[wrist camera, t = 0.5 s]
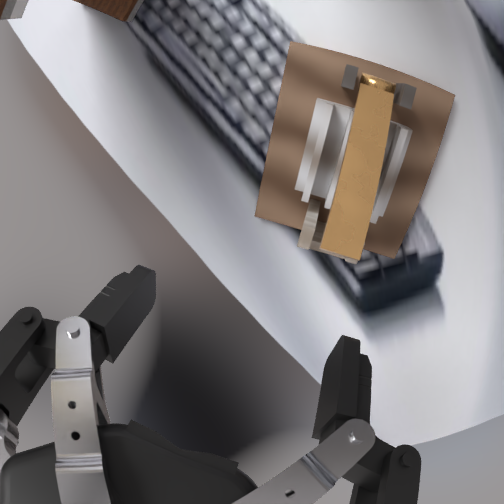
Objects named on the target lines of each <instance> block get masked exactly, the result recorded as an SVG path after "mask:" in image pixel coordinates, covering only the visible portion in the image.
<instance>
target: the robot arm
mask: <svg viewBox="0 0 504 504" xmlns="http://www.w3.org/2000/svg"><path fill="white" fill-rule="evenodd" d="M155 299H156V273H155V271H154V270H151V269H149V268H146V267H144V266H141V265H138V266H136V267H135V268H134V269H133V270H132V271H131V272H130V273H129V274H128V273H126V272H123V273H121V274H119V275H117V276H115V277H114V278H113V279H112V280H111V281H110V282H109V283H108V284H107V286H106V287H104V289H103V290H102V291H101V293H99V294H98V295H97V296H96V297H95V298H94V300H92V302H91V303H90V304H89V305H88V306H87V307H86V308H85V310H84V311H83V312H82V313H81V314H80V315H79V316H78V317H77V316H72V317H68V318H65V319H64V320H62V321H61V322H59V321H53V320H49V319H44V318H42V315H41V313H40V311H39V310H38V309H36V308H34V307H25V308H22V309H20V310H19V311H18V312H17V313H16V314H15V315H14V316H13V317H12V318H11V319H10V321H9V322H8V323H7V324H6V325H5V326H4V328H3V329H2V330H1V331H0V504H313V503H315V502H316V501H317V500H318V499H319V498H321V497H322V496H323V495H324V494H326V493H327V492H328V491H329V490H330V489H331V488H332V487H333V486H334V485H335V482H336V481H337V480H338V479H340V478H341V477H343V478H344V479H347V480H348V481H350V482H352V483H354V486H353V491H352V495H351V499H350V504H417V500H418V492H419V482H420V471H421V457H420V455H419V452H418V451H417V450H416V449H415V448H414V447H412V446H410V445H400V446H398V447H396V448H395V447H393V446H391V445H389V444H387V443H386V442H384V441H382V440H380V439H379V438H378V437H377V436H376V435H375V432H374V430H373V428H372V426H371V425H370V405H371V378H372V366H371V364H370V361H369V358H368V356H367V355H363V354H360V340H358V339H354V338H351V337H348V336H344V335H342V336H341V337H340V339H339V340H338V342H337V344H336V345H335V347H334V349H333V350H332V352H331V353H330V355H329V357H328V359H327V361H326V364H325V367H324V371H323V378H322V384H321V391H320V397H319V402H318V408H317V414H316V419H315V424H314V430H313V435H312V438H315V439H319V440H320V441H319V445H318V446H317V447H316V448H314V449H313V450H312V451H310V452H309V453H308V454H306V455H304V456H303V457H302V458H300V459H299V460H298V461H296V462H295V463H293V464H292V465H291V466H290V467H288V468H286V469H285V470H284V471H282V472H281V473H279V474H278V475H277V476H275V477H273V478H272V479H271V480H269V481H268V482H266V483H264V484H263V485H262V486H260V487H257V486H256V484H255V483H254V481H253V480H252V479H251V478H250V477H249V476H248V475H246V474H245V473H244V472H242V471H241V470H239V469H238V468H237V466H238V462H235V461H232V460H229V459H226V458H223V457H220V456H217V455H214V454H210V453H203V452H195V451H188V450H182V449H180V448H178V447H176V446H175V445H174V444H172V443H171V442H169V441H168V440H167V439H165V438H164V437H163V436H161V435H160V434H159V433H157V432H156V431H154V430H152V429H150V428H147V427H145V426H143V425H141V424H139V423H137V422H135V421H133V420H131V421H130V423H129V424H128V425H126V424H111V423H110V418H109V414H108V410H107V407H106V402H105V394H104V387H103V379H102V370H101V364H102V363H103V361H104V360H107V361H109V362H111V363H114V361H115V360H116V358H117V357H118V356H119V354H120V353H121V351H122V350H123V348H124V346H126V344H127V342H128V341H129V340H130V338H131V337H132V336H133V334H134V333H135V331H136V330H137V329H138V327H139V326H140V325H141V323H142V322H143V320H144V319H145V318H146V316H147V315H148V314H149V312H150V311H151V309H152V307H153V305H154V302H155ZM53 369H56V371H55V373H53V374H52V377H51V397H52V415H53V416H52V417H53V428H54V440H55V442H52V443H49V444H46V445H43V446H40V447H36V448H33V449H30V450H26V451H23V452H20V453H17V454H16V447H17V445H18V443H19V442H18V439H19V432H18V428H17V425H18V424H19V422H20V420H21V419H22V417H23V415H24V414H25V412H26V411H27V409H28V407H29V406H30V404H31V403H32V401H33V399H34V398H35V396H36V395H37V393H38V392H39V390H40V389H41V387H42V386H43V384H44V383H45V381H46V380H47V378H48V377H49V375H50V374H51V372H52V371H53Z"/></svg>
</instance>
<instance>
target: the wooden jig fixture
mask: <svg viewBox="0 0 504 504" xmlns="http://www.w3.org/2000/svg"><path fill="white" fill-rule="evenodd" d="M362 72H363V73H366V74H369V75H373V76H376V77H379V78H382V79H384V80H387V81H390V82H393V83H396V89H395V93H394V99H393V106H392V112H391V119H390V125H389V131H388V137H387V143H386V148H385V154H384V159H383V164H382V169H381V174H380V179H379V184H378V188H377V193H376V197H375V202H374V206H373V210H372V214H371V218H370V223H369V227H368V231H367V234H366V238H365V242H364V246H363V249H365V250H368V251H371V252H374V253H378V254H381V255H384V256H387V257H390V258H393V259H394V258H395V256H396V254H397V252H398V250H399V247H400V245H401V243H402V241H403V239H404V236H405V234H406V232H407V230H408V227H409V225H410V223H411V220H412V218H413V216H414V213H415V211H416V208H417V206H418V204H419V201H420V199H421V196H422V194H423V191H424V188H425V186H426V183H427V181H428V178H429V175H430V172H431V170H432V167H433V164H434V161H435V158H436V156H437V153H438V150H439V147H440V144H441V141H442V138H443V134H444V131H445V128H446V125H447V122H448V118H449V115H450V111H451V108H452V104H453V101H454V97H455V95H454V94H452V93H450V92H448V91H445V90H443V89H441V88H439V87H437V86H434V85H432V84H430V83H427V82H425V81H422V80H420V79H418V78H415V77H413V76H410V75H407V74H405V73H402V72H399V71H397V70H394V69H391V68H388V67H385V66H382V65H380V64H376V63H373V62H370V61H367V60H364V59H361V58H357V57H354V56H350V55H347V54H343V53H339V52H336V51H332V50H328V49H324V48H319V47H315V46H311V45H306V44H301V43H296V42H291V41H290V46H289V51H288V56H287V60H286V65H285V70H284V75H283V80H282V84H281V89H280V94H279V99H278V104H277V109H276V113H275V118H274V123H273V128H272V133H271V138H270V142H269V147H268V152H267V157H266V162H265V167H264V172H263V177H262V182H261V186H260V191H259V196H258V201H257V206H256V211H255V217H259V218H262V219H266V220H269V221H273V222H276V223H280V224H283V225H286V226H290V227H293V228H297V229H300V230H301V234H300V237H299V241H298V244H297V246H298V247H301V248H304V249H308V250H309V248H310V249H313V250H316V251H319V252H323V253H326V254H329V255H333V256H336V257H339V258H342V259H345V261H347V262H350V263H353V264H357V262H358V260H357V261H356V260H353V259H350V258H347V257H344V256H340V255H337V254H334V253H331V252H327V251H324V250H321V249H319V247H320V244H321V240H322V237H323V233H324V230H325V226H326V222H327V219H328V215H329V211H330V208H331V204H332V200H333V196H334V193H335V189H336V185H337V181H338V177H339V173H340V169H341V165H342V161H343V157H344V152H345V148H346V144H347V140H348V135H349V131H350V126H351V122H352V117H353V113H354V108H355V103H356V99H357V94H358V88H359V83H360V79H361V75H362Z"/></svg>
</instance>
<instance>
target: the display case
mask: <svg viewBox="0 0 504 504" xmlns="http://www.w3.org/2000/svg"><path fill="white" fill-rule="evenodd" d="M74 1H76V2H79V3H81V4H84V5H86V6H89V7H91V8H94V9H96V10H98V11H101V12H103V13H105V14H108V15H110V16H112V17H114V18H116V19H119V20H121V21H126V22H132V20H133V18H134V17H135V15H136V13H137V11H138V10H139V8H140V6H141V4H142V3H143V1H144V0H74ZM27 3H28V0H0V20H4V19H16V18H22V15H23V13H24V10H25V8H26V5H27Z"/></svg>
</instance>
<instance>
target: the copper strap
mask: <svg viewBox="0 0 504 504" xmlns="http://www.w3.org/2000/svg"><path fill="white" fill-rule="evenodd" d="M395 89H396V83H393V82H390V81H387V80H384V79H382V78H379V77H376V76H373V75H369V74H366V73H363V72H362V75H361V79H360V83H359V88H358V94H357V99H356V103H355V108H354V113H353V117H352V122H351V126H350V131H349V135H348V140H347V144H346V148H345V152H344V157H343V161H342V165H341V169H340V173H339V177H338V181H337V185H336V189H335V193H334V196H333V200H332V204H331V208H330V211H329V215H328V219H327V222H326V226H325V230H324V233H323V237H322V240H321V244H320V247H319V249H321V250H324V251H327V252H331V253H334V254H337V255H340V256H344V257H347V258H350V259H353V260H356V261H357V260H360V257H361V253H362V250H363V246H364V242H365V238H366V234H367V231H368V227H369V223H370V218H371V214H372V210H373V206H374V202H375V197H376V193H377V188H378V184H379V179H380V174H381V169H382V164H383V159H384V154H385V148H386V143H387V137H388V131H389V125H390V119H391V112H392V106H393V99H394V93H395Z"/></svg>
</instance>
